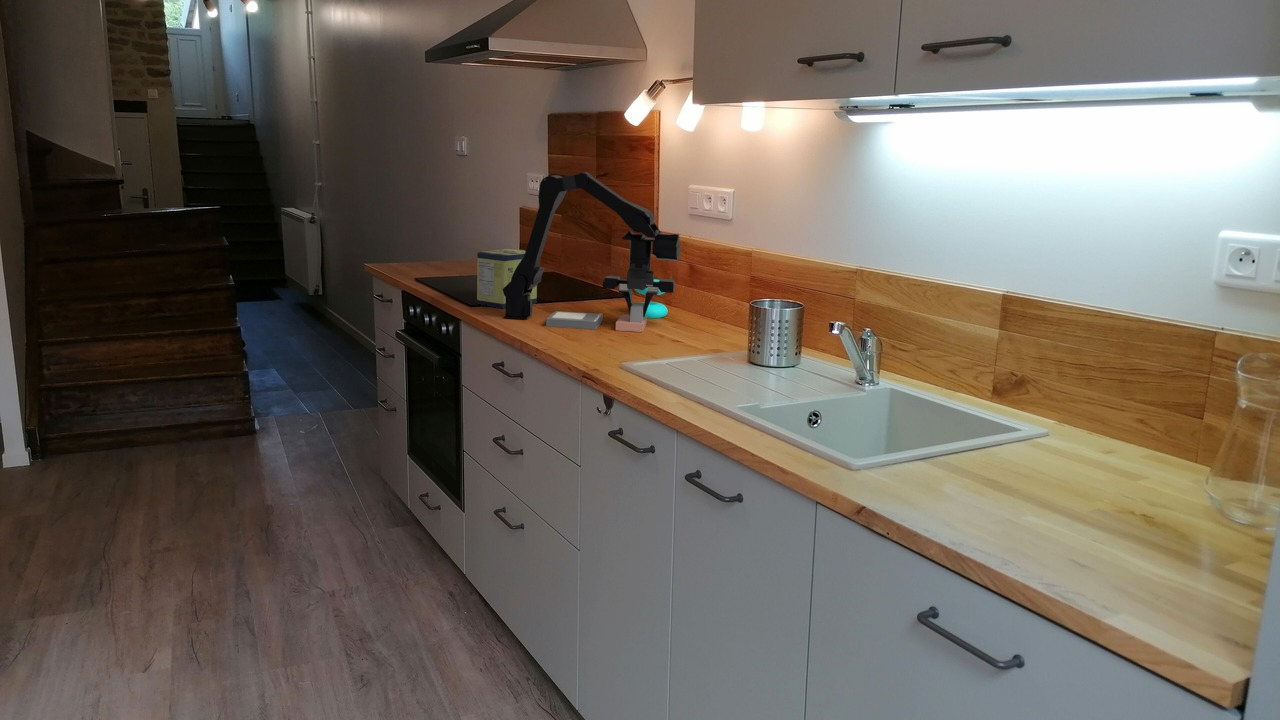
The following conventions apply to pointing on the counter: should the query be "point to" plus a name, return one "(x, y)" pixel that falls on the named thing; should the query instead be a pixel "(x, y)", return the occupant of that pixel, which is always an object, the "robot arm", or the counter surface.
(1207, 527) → the counter surface
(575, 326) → the grey flat box
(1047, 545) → the counter surface
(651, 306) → the donuts
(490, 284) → the protein box
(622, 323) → the pink and grey block
